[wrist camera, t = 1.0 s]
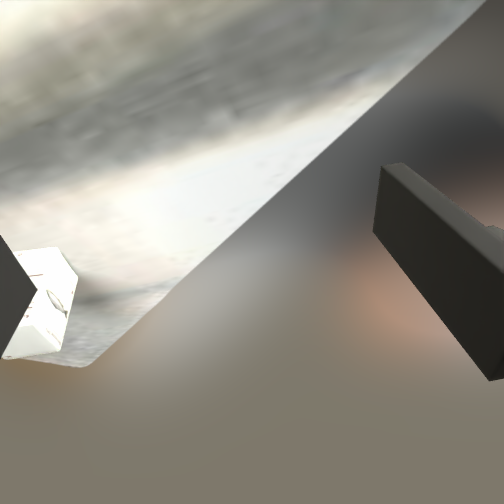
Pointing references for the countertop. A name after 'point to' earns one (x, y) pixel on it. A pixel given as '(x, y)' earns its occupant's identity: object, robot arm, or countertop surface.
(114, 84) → the countertop surface
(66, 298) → the white packaging box
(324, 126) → the countertop surface
